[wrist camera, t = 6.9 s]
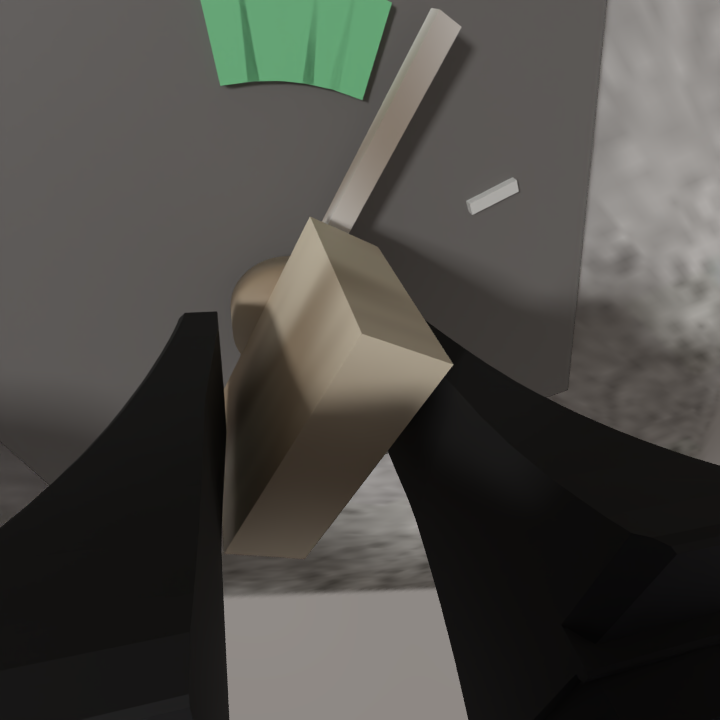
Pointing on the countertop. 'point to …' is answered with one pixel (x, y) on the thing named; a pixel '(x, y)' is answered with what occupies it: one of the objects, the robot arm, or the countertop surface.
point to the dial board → (275, 181)
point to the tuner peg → (327, 352)
